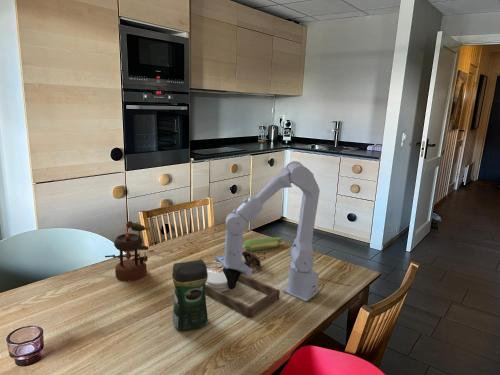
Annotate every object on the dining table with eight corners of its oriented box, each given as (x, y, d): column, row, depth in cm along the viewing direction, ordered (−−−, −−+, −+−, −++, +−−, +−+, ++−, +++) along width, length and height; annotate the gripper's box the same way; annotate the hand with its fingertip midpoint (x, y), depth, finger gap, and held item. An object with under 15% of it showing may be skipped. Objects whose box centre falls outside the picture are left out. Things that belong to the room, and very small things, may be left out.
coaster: (207, 294, 118) (208, 285, 117) (201, 280, 127) (201, 271, 126) (237, 290, 122) (237, 281, 121) (228, 277, 131) (229, 268, 130)
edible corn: (241, 239, 155) (246, 240, 151) (281, 235, 164) (287, 236, 160) (242, 251, 155) (246, 253, 151) (282, 246, 164) (287, 247, 159)
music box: (148, 264, 137) (148, 215, 131) (153, 280, 128) (153, 228, 121) (105, 270, 131) (102, 219, 125) (106, 287, 121) (104, 232, 115)
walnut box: (279, 298, 118) (279, 290, 117) (249, 318, 107) (250, 309, 106) (233, 277, 130) (234, 270, 129) (202, 293, 119) (203, 285, 118)
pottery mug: (265, 276, 134) (256, 260, 130) (241, 285, 135) (232, 270, 131) (260, 255, 144) (252, 240, 140) (238, 263, 145) (230, 249, 141)
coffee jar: (201, 311, 109) (202, 254, 104) (210, 326, 102) (211, 266, 97) (169, 318, 105) (169, 259, 100) (176, 334, 98) (176, 271, 93)
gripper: (209, 246, 119) (208, 284, 122) (242, 260, 110) (240, 300, 113) (224, 241, 124) (222, 277, 127) (257, 253, 115) (254, 292, 118)
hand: (232, 287), depth 120 cm, fingers closed
